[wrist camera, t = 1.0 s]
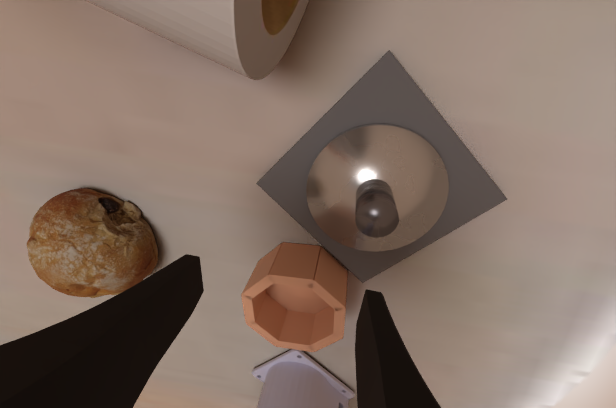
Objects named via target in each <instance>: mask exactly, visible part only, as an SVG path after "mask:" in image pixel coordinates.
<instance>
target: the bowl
mask: <svg viewBox="0 0 616 408" xmlns="http://www.w3.org/2000/svg"><path fill="white" fill-rule="evenodd" d="M347 276H348V271H347V270H346V269H345V268H344V267H343V266H342V265H341V264H340V263H339V262H338V261H337V260H336V259H335V258H333V257H332V256H331V255H330V254H329V253H328V252H327V251H326V250H325V249H324V248H323V247H322V246H321V247H320V246H317V245H306V244H295V243H285V242H283V243H281V244H279V245H278V246H277V247H276V248H274V249H273V250H272V251H271V252H269V253H268V254H267V255H265V256H264V257H263V258H262V259H260V260H259V261H258V263H257V265H256V267H255V269H254V271H253V273H252V275H251V277H250V279H249V281H248V283H247V285H246V287H245V289H244V291H243V293H242V295H241V296H242V302H243V308H244V314H245V320H246V323H247V325H248V326H250V327H251V328H252V329H253V330H255V331H256V332H257V333H259V334H260V335H261V336H262V337H264V338H265V339H266V340H268V341H269V342H270V343H272V344H273V345H274V346H276V347H283V348H289V349H295V350H302V351H308V352H315V351H317V350H319V349H321V348H324V347H326V346H328V345H330V344H332V343H334V342H336V341H338V340H340V339H342V338H343V335H344V323H345V311H346V294H347Z"/></svg>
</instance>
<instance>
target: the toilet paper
mask: <svg viewBox="0 0 616 408" xmlns="http://www.w3.org/2000/svg"><path fill="white" fill-rule="evenodd" d="M86 1H88V2H90V3H92V4H94V5H96V6H98V7H101V8H103V9H105V10H107V11H109V12H111V13H113V14H115V15H117V16H120V17H122V18H124V19H126V20H128V21H130V22H132V23H134V24H137V25H139V26H141V27H143V28H145V29H147V30H149V31H151V32H154V33H156V34H158V35H160V36H162V37H164V38H166V39H168V40H170V41H173V42H175V43H177V44H179V45H181V46H183V47H185V48H187V49H190V50H192V51H194V52H196V53H198V54H200V55H202V56H204V57H207V58H209V59H211V60H213V61H215V62H217V63H219V64H221V65H223V66H226V67H228V68H230V69H232V70H234V71H236V72H238V73H240V74H243V75H245V76H247V77H249V78H251V79H254V80H259V79H262V78H264V77H266V76H267V75H268V74H269V73H270V72H271V71H272V70H273V69H274V68H275V67H276V66H277V64H278V63H279V62H280V60H281V59H282V57H283V55H284V54H285V52H286V50H287V49H288V47H289V45H290V43H291V41H292V39H293V37H294V35H295V33H296V31H297V29H298V26H299V24H300V22H301V19H302V17H303V15H304V12H305V10H306V7H307V4H308V2H309V0H86Z"/></svg>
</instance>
